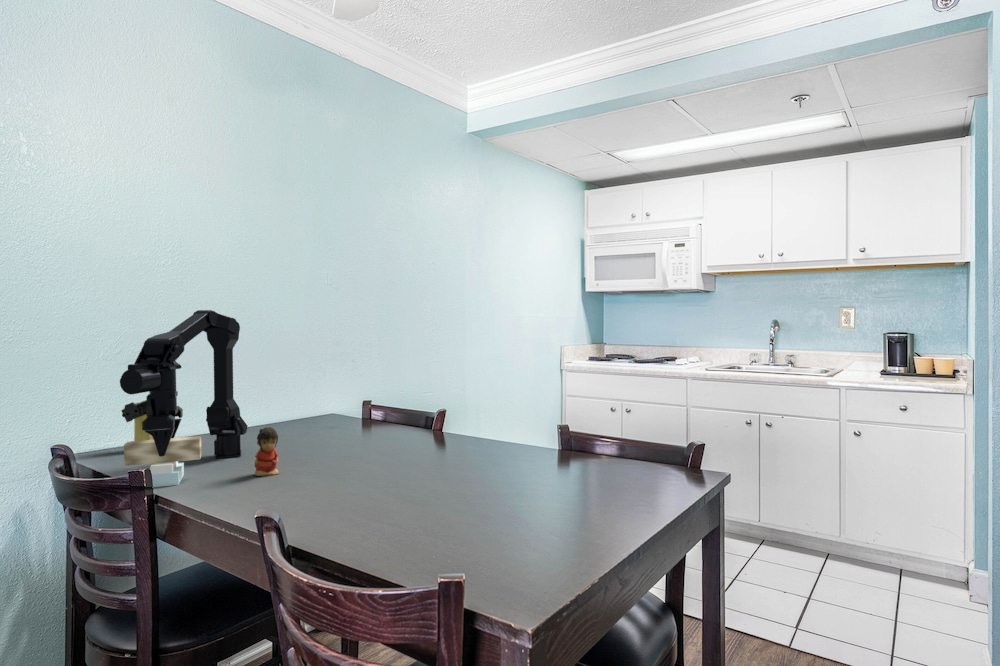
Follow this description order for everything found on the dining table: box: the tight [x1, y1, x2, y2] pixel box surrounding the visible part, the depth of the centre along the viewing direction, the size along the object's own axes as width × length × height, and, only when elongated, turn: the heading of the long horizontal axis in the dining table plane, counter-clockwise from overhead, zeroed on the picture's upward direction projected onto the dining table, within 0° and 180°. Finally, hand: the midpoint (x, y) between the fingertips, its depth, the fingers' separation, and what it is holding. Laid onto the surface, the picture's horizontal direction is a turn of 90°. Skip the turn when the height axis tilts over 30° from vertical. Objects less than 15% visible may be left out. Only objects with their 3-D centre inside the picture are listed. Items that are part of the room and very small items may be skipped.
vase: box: [133, 402, 154, 441], centre depth 178 cm, size 6×6×14 cm
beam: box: [123, 435, 203, 467], centre depth 144 cm, size 16×4×5 cm, turn 112°
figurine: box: [254, 426, 280, 477], centre depth 150 cm, size 6×6×12 cm
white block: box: [149, 461, 185, 488], centre depth 144 cm, size 7×10×5 cm
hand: (164, 452), depth 144 cm, fingers open, 8 cm apart
